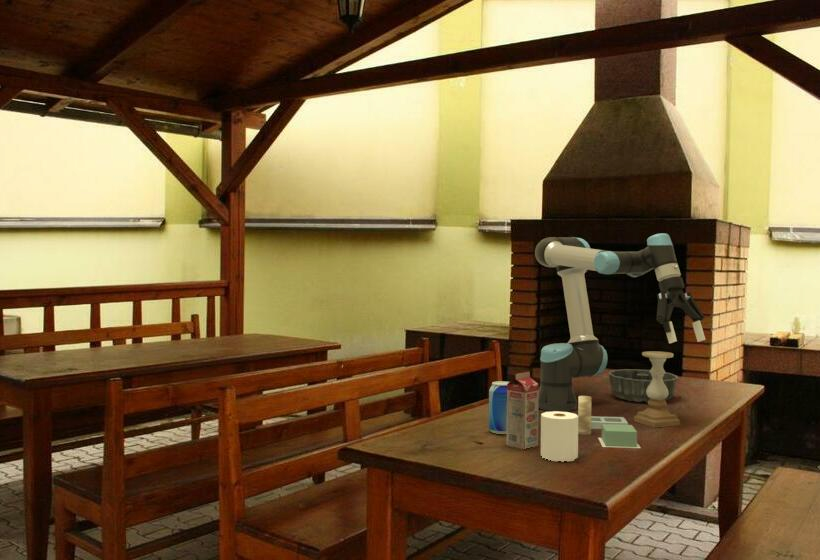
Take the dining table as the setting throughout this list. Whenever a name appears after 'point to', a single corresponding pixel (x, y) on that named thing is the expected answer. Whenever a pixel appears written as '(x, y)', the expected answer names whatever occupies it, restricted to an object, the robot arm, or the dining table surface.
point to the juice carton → (522, 411)
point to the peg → (584, 415)
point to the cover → (619, 435)
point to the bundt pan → (637, 384)
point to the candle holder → (657, 395)
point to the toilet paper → (559, 436)
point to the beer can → (498, 407)
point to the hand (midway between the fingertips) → (687, 341)
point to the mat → (615, 446)
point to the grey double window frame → (606, 421)
